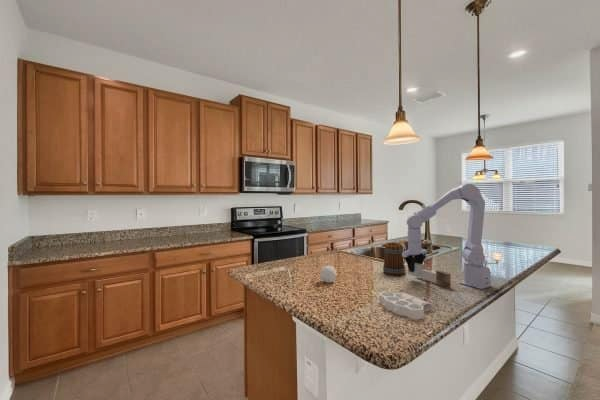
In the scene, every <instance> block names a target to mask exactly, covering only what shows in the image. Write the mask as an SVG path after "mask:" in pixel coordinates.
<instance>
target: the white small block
mask: <svg viewBox="0 0 600 400" xmlns="http://www.w3.org/2000/svg"><path fill="white" fill-rule="evenodd" d="M423 265H424V264H418V263H415V268H414V272H410V271H409V268H408V267H407V275H410V276H412V277H417V278H419V276H423V270H424V269H423Z"/></svg>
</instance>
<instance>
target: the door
mask: <svg viewBox="0 0 600 400" xmlns="http://www.w3.org/2000/svg"><path fill="white" fill-rule="evenodd" d="M418 278H419V279H423V280H427V281H430V282H433V283H436V271H430V270H427V269H423V276H419V277H418Z"/></svg>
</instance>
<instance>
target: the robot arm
mask: <svg viewBox="0 0 600 400" xmlns="http://www.w3.org/2000/svg"><path fill="white" fill-rule="evenodd" d="M480 191H481V190H480V188H478V187H477V186H476V185H474V184H473V183H465V184H459V185H457V186H455V187H454V188H452V189H450V190H449V191H447V192H445V194H444V195H442V196H441V197H440V198H438V199H437V200H436V201H434V203H432V204H426V205H425V204H423V205H422V206H421V208H420V209H419V210H417V211H416V212H413V215H410V216H408V217H407V220H406V221H405V222H406V225H407V249H406V250H405V251H403V252H402V257H403V260H405V262H406V264H407V269H408V268H409V271H410V272H414V268H415V263H418V264H422V265H424V262H425V259H426V258H427V254H428V249H425V248H422V229H421V228H422V226H423V223H426V222H427V221H429V220H430V219H431V218H433V217H434V216H436V214H437V211H438V210H439V209H440V208H442V207H444V206H445V205H447V204H448V203H450V202H452V201H453V200H460V199H461V200H463V201H465V202H466V204H468V205H469V206H470V210H469V217H468V218H469V219H468V220H469V221H468V230H467V241H466V242H465V244H464V247H463V249H462V251H461V257H462V258H463V259H464V260H463V280H462V281H459V284H462V285H464V286H469V287H473V288H476V289H480V290H484V289H487V288H490V287H493V285H492V283H491V282H492V281H491V280H492V279H491V274H492V272H491V269H490V267H488V266H486V265H484V263H485V260H486V256H485V254H484V246H483V245H482V239H483V230H484V228H483V227H484V220H485V219H484V218H485V211H486V210H485V209H486V201H485V199H484V198H483V196H482V194H481V192H480Z"/></svg>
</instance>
